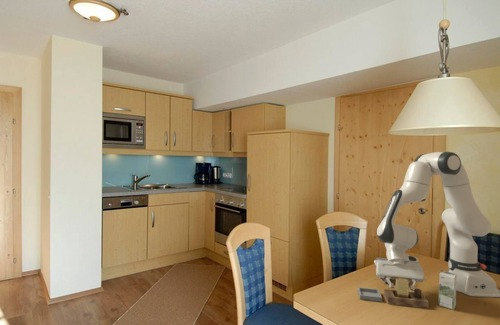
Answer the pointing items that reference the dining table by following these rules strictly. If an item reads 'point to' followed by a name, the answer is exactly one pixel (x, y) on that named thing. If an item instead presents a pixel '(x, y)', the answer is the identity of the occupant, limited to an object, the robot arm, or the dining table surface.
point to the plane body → (407, 299)
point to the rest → (369, 294)
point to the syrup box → (447, 289)
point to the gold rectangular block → (402, 288)
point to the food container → (384, 278)
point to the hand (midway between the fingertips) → (402, 288)
